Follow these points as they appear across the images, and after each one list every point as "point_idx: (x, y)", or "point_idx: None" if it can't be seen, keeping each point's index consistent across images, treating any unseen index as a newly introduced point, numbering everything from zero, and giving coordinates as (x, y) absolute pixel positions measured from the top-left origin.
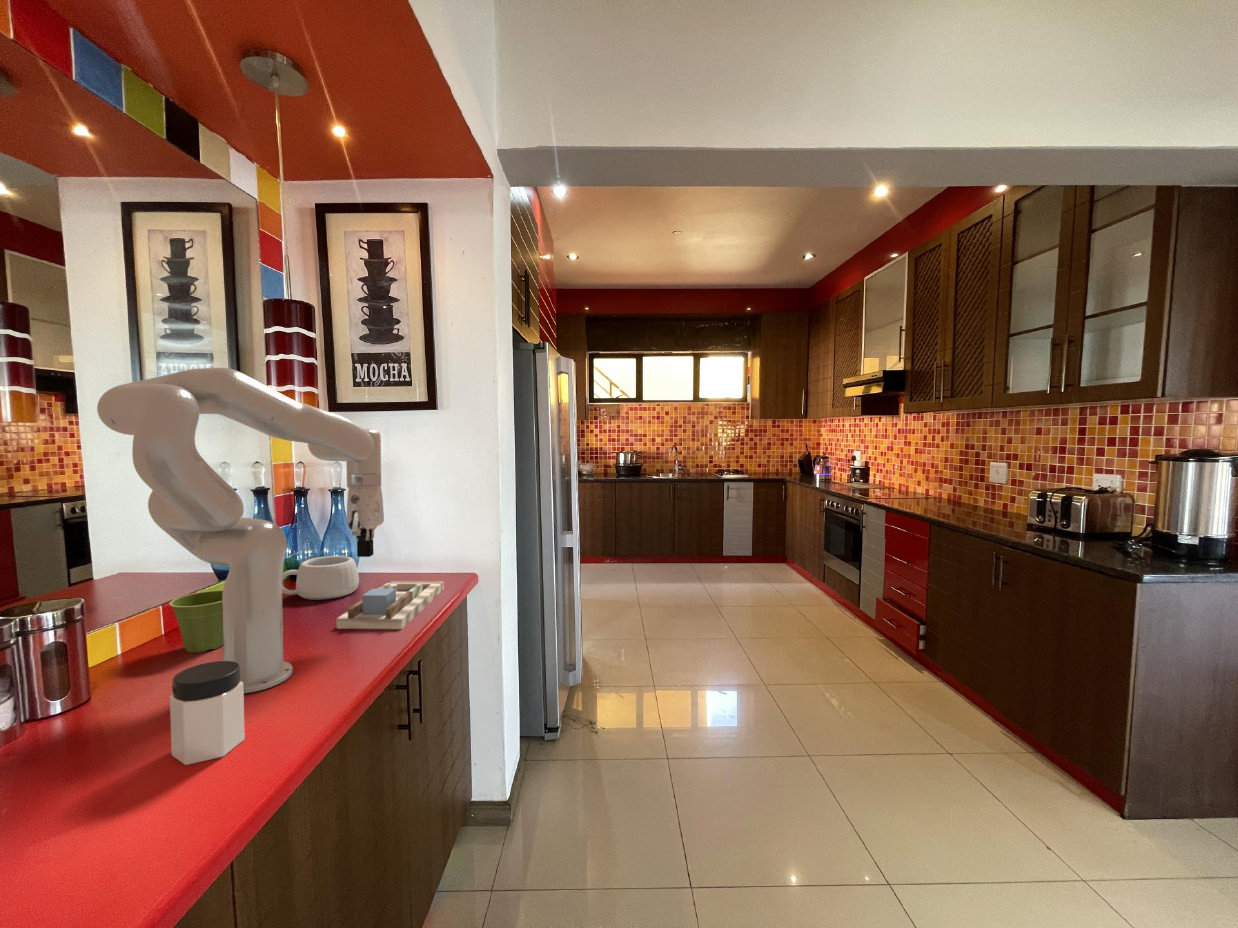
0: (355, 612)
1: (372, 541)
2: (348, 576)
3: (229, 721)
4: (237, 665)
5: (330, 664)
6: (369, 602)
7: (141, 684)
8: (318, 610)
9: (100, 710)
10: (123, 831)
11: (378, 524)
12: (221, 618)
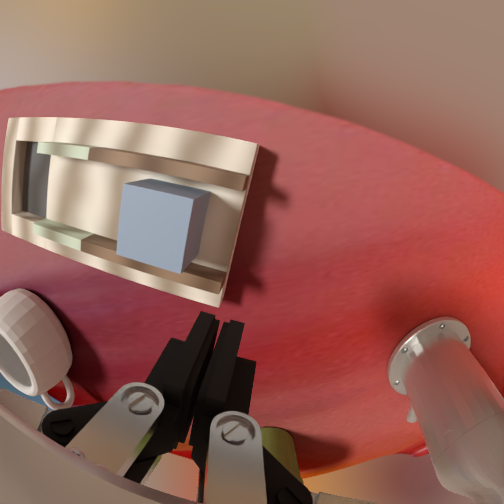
0: (210, 272)
1: (187, 376)
2: (22, 315)
3: None
4: None
5: (425, 268)
6: (191, 246)
7: (374, 444)
8: (114, 339)
9: (419, 439)
10: None
11: (78, 472)
12: (284, 461)
